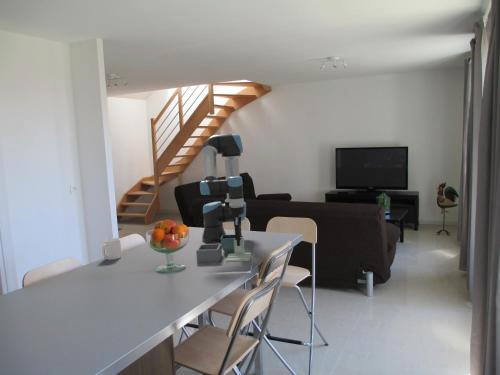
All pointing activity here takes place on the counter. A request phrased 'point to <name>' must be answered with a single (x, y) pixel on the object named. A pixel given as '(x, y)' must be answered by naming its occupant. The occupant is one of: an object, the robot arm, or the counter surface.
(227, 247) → the flower pot
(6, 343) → the counter surface
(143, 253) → the counter surface
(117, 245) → the cup
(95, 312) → the counter surface
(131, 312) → the counter surface
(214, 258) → the tub
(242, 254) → the lid
